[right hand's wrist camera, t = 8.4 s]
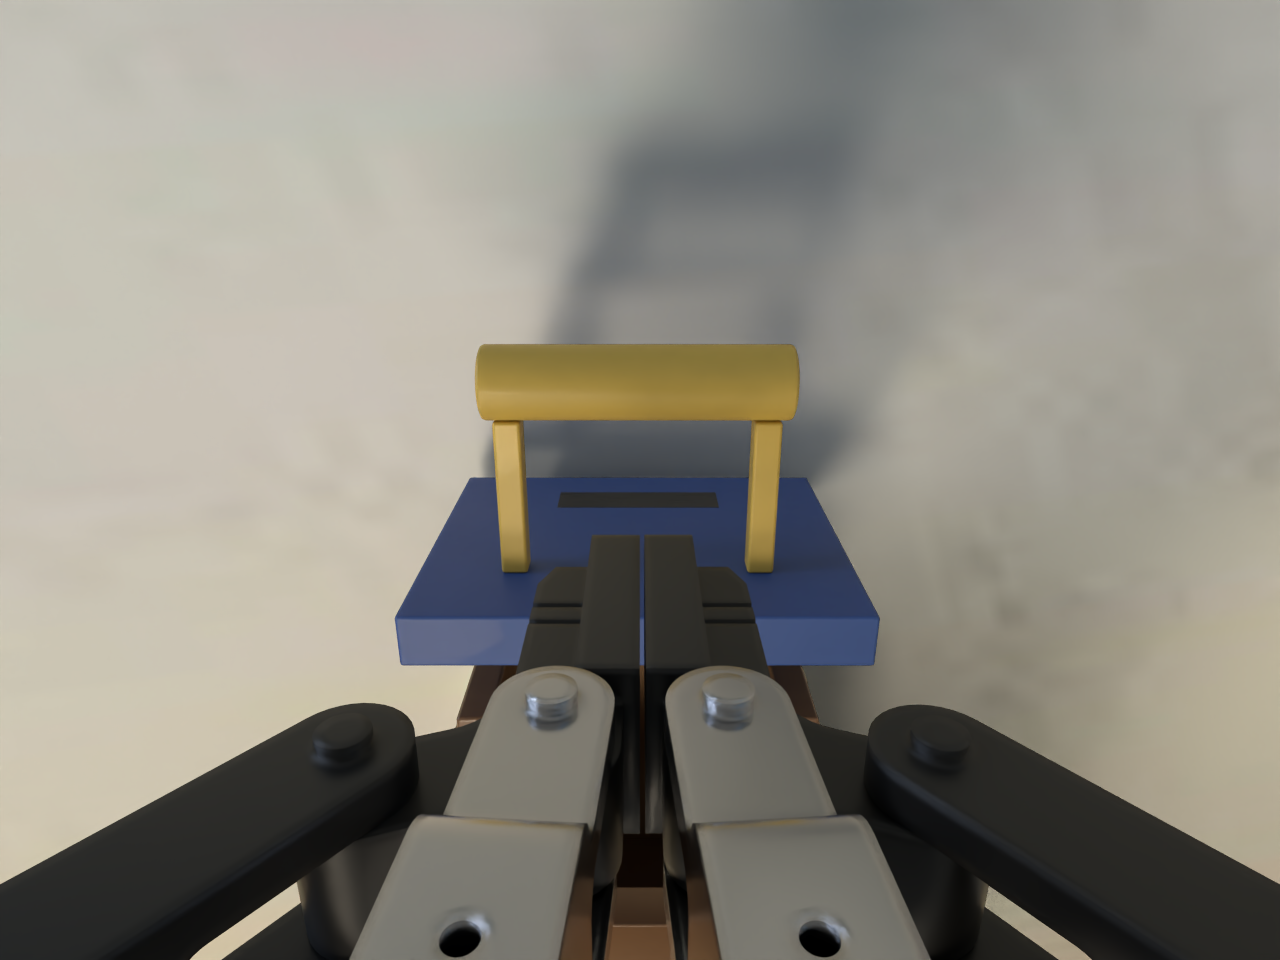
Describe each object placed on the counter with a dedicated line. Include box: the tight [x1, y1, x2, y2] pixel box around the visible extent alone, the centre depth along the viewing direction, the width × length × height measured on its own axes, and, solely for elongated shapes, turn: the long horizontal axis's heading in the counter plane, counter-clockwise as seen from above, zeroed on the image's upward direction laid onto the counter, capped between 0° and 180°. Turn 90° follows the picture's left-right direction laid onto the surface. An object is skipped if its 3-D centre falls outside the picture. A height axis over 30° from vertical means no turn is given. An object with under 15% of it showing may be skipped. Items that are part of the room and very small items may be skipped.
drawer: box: [395, 344, 880, 887], centre depth 22 cm, size 19×10×8 cm, turn 0°
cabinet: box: [456, 668, 820, 960], centre depth 26 cm, size 15×11×10 cm
